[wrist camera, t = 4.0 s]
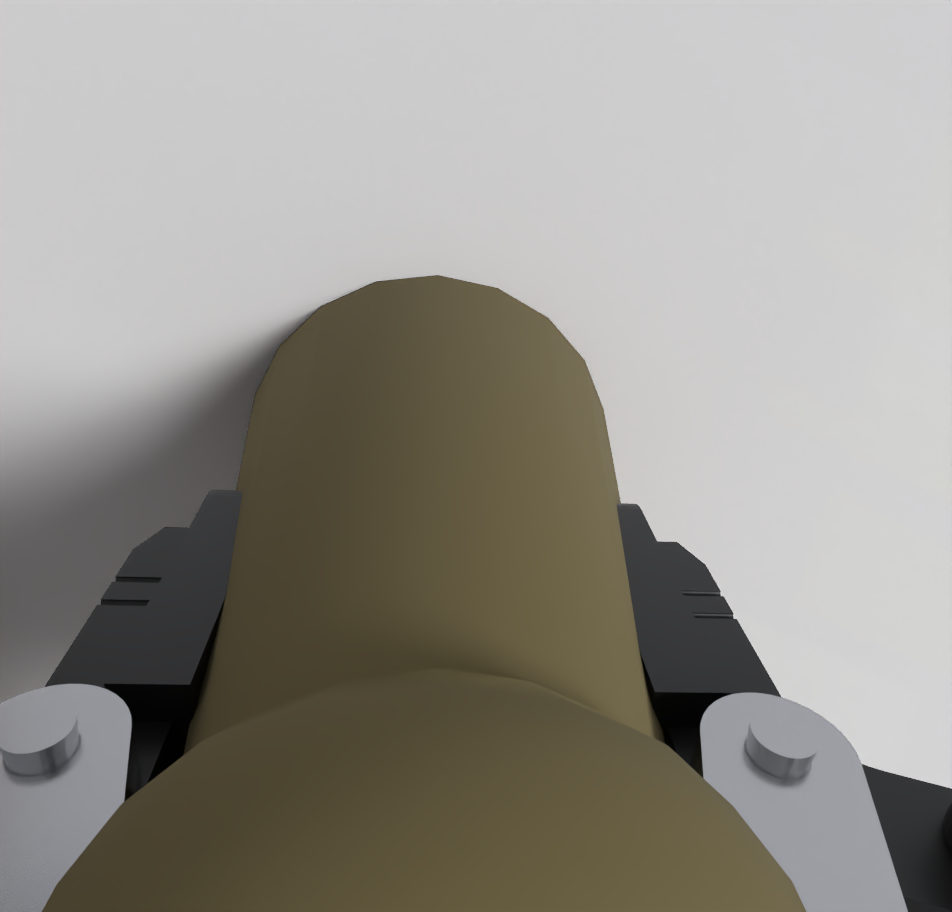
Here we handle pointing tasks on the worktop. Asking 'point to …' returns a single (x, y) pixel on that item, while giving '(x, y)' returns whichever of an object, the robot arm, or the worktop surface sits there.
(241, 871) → the olive rounded bulbous part
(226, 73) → the worktop surface
